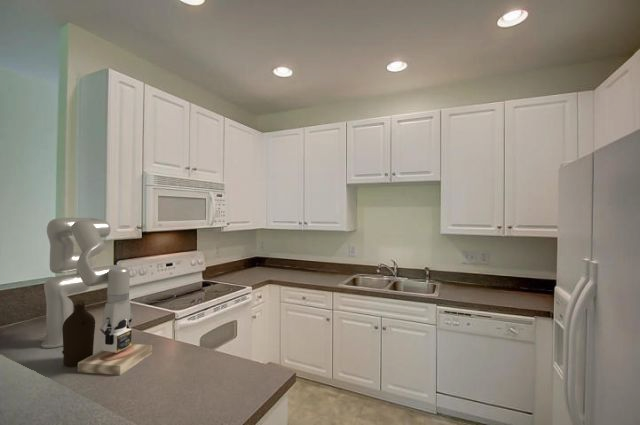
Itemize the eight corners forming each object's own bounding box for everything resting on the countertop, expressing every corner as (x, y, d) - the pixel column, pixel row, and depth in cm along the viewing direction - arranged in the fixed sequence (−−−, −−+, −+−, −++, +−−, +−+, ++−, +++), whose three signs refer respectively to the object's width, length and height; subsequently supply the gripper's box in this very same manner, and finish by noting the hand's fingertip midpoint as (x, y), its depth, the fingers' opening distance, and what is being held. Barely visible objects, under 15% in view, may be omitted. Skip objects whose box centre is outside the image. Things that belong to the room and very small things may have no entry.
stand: (77, 371, 114) (77, 361, 114) (114, 350, 132) (114, 341, 132) (120, 375, 112) (120, 364, 112) (152, 353, 130) (152, 344, 130)
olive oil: (100, 356, 127) (102, 298, 127) (78, 368, 116) (80, 305, 116) (78, 354, 128) (79, 297, 128) (54, 367, 117) (55, 304, 117)
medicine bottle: (116, 353, 118) (117, 323, 118) (102, 351, 119) (102, 321, 119) (131, 345, 125) (132, 317, 125) (117, 343, 126) (118, 315, 126)
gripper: (125, 291, 131) (125, 331, 131) (91, 303, 114) (90, 348, 114) (141, 292, 131) (140, 332, 130) (109, 304, 113) (108, 350, 113)
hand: (117, 339), depth 122 cm, fingers closed on medicine bottle, 7 cm apart
